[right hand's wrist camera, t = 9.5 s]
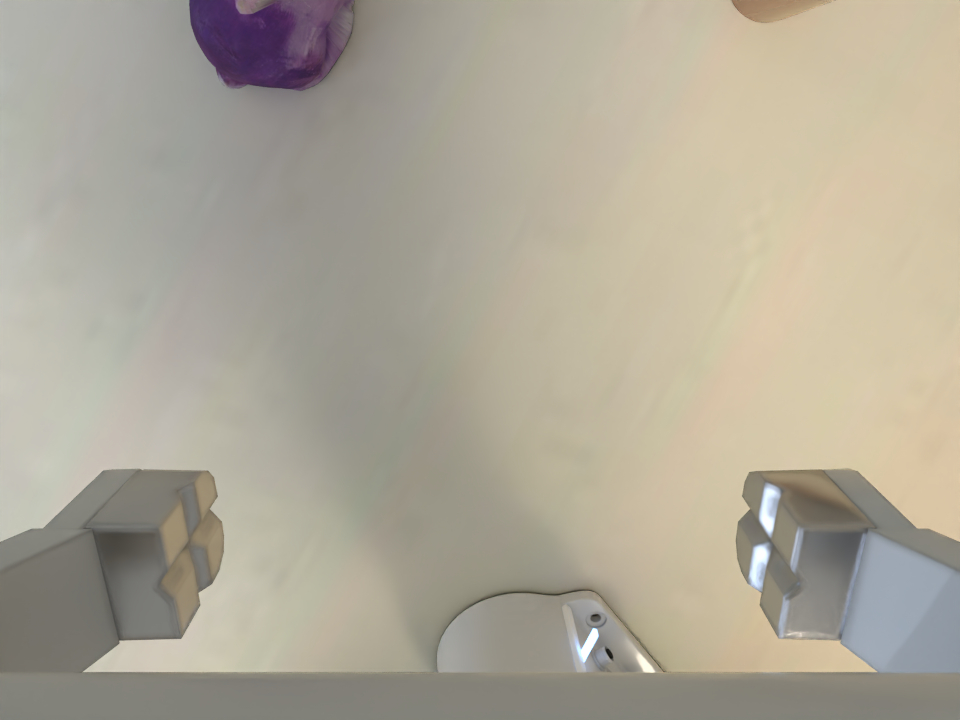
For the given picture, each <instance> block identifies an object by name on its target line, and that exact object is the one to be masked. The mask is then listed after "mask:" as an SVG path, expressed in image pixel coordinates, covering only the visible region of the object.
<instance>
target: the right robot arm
mask: <svg viewBox="0 0 960 720" xmlns="http://www.w3.org/2000/svg"><path fill="white" fill-rule="evenodd" d="M217 497H218V495H217V490H216V485H215V480H214V477H213V476H212V475H211V473H210V472H209V471H200V470H147V469H145V470H141V469H112V470H105V471H102V472H101V473H100V474H99V475H98V476H97V477H96V478H95V479H94V480H93V481H92V482H91V483H90V484H89V485H88V486H87V487H86V488H85V489H84V490H83V491H82V492H81V493H79V494H78V495H77V496H76V497H75V498H74V499H73V500H72V501H71V502H70V503H69V504H68V505H67V506H66V507H65V508H64V509H63V510H62V511H61V512H60V513H59V514H58V515H57V516H55V517H54V518H53V519H52V520H51V521H50V522H49V523H48V524H47V525H46V526H45V527H44V528H43V529H30V530H28V531H25V532H23V533H21V534H18V535H16V536H13V537H11V538H9V539H6V540H4V541H2V542H0V720H960V542H958V541H956V540H954V539H951V538H949V537H947V536H944V535H942V534H939V533H937V532H935V531H932V530H930V529H917V528H916V527H915V526H914V525H913V524H912V523H911V522H910V521H909V520H908V519H907V518H906V517H905V516H904V515H903V514H901V513H900V512H899V511H898V510H897V509H896V508H895V507H894V506H893V505H892V504H891V503H890V502H889V501H888V500H887V499H886V498H885V497H884V496H883V495H882V494H881V493H880V492H879V491H878V490H877V489H876V488H874V487H873V486H872V485H871V484H870V483H869V482H868V481H867V480H866V479H865V478H864V477H863V476H862V475H861V474H860V473H859V472H858V471H855V470H852V469H828V470H783V471H754V472H749V474H748V476H747V478H746V480H745V484H744V489H743V495H742V497H743V498H744V500H745V501H746V503H747V504H748V506H749V508H750V510H749V511H748V512H747V513H746V514H745V515H744V516H743V517H742V518H741V519H740V520H739V521H738V527H737V535H736V549H737V559H738V562H739V565H740V569H741V572H742V574H743V576H744V578H745V579H746V581H747V583H748V584H749V585H750V586H752V587H754V588H755V589H757V590H758V591H760V592H761V593H762V594H761V600H760V607H761V608H762V610H763V612H764V614H765V615H766V617H767V619H768V621H769V622H770V624H771V626H772V628H773V629H774V631H775V633H776V635H777V636H778V638H779V639H807V640H841V642H840V643H841V644H842V645H843V646H845V647H846V648H847V649H849V650H850V651H851V652H853V653H854V654H855V655H856V656H858V657H859V658H860V659H862V660H863V661H864V662H866V663H867V664H868V665H870V666H871V667H872V668H873V669H875V670H876V671H877V672H663V671H662V669H661V668H660V667H659V666H658V665H657V663H656V662H655V661H654V660H653V659H652V658H651V656H650V655H649V654H648V653H647V652H646V650H645V649H644V648H643V647H642V646H641V644H640V643H639V642H638V641H637V640H636V639H635V637H634V636H633V635H632V634H631V633H630V631H629V630H628V629H627V628H626V627H625V625H624V624H623V623H622V622H621V621H620V620H619V618H618V617H617V616H616V615H615V614H614V612H613V611H612V610H611V609H610V608H609V606H608V605H607V604H606V603H605V602H604V601H603V599H602V598H601V597H600V596H599V595H598V594H597V593H595V592H593V591H577V592H571V593H567V594H562V595H556V596H552V595H542V594H534V593H511V594H504V595H499V596H495V597H491V598H488V599H485V600H483V601H480V602H478V603H476V604H474V605H472V606H471V607H469V608H468V609H466V610H465V611H463V612H462V613H461V614H460V615H458V616H457V617H456V618H455V619H454V620H453V621H452V622H451V624H450V625H449V626H448V627H447V629H446V630H445V632H444V634H443V636H442V638H441V640H440V643H439V646H438V651H437V669H438V672H83V671H84V670H85V669H87V668H88V667H89V666H91V665H92V664H93V663H95V662H96V661H97V660H99V659H100V658H101V657H102V656H104V655H105V654H106V653H108V652H109V651H110V650H112V649H113V648H114V647H116V646H117V645H118V644H119V643H120V642H119V640H152V639H181V638H182V637H183V635H184V633H185V631H186V629H187V628H188V626H189V624H190V622H191V621H192V619H193V617H194V615H195V614H196V612H197V610H198V608H199V607H200V600H199V594H198V593H199V592H200V591H202V590H203V589H205V588H206V587H208V586H210V585H211V584H212V583H213V581H214V579H215V577H216V576H217V574H218V572H219V570H220V565H221V561H222V557H223V552H224V533H223V526H222V521H221V520H220V519H219V518H218V517H217V516H216V515H215V514H214V513H213V512H212V511H211V510H210V508H211V506H212V505H213V503H214V501H215V500H216V498H217ZM593 614H599V615H597V616H592V615H593Z"/></svg>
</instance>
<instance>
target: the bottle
mask: <svg viewBox="0 0 960 720" xmlns="http://www.w3.org/2000/svg"><path fill="white" fill-rule="evenodd" d="M833 1H836V0H732V2H733V4H734V5H735V7H736V8H737V9H738V10H739V11H740V13H742V14H743V15H744V16H746V17H747V18H749V19H751V20H754V21H757V22H764V23H769V22H776V21H779V20H782V19H785V18H788V17H791V16H793V15H796V14H799V13H802V12H805V11H807V10H810V9H813V8H816V7H819V6H822V5H824V4H827V3H830V2H833Z"/></svg>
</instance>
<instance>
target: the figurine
mask: <svg viewBox="0 0 960 720" xmlns="http://www.w3.org/2000/svg"><path fill="white" fill-rule="evenodd" d="M353 4H354V0H190V3H189V6H190V19H191V26H192V29H193V32H194V35H195V37H196V40H197V42H198V44H199V46H200V48H201V49H202V51H203V53H204V54H205V56H206V57H207V59H208V60H209V61H210V62H211V63H212V65H213V66H215V67H216V71H217V75H218V78H219V80H220V81H221V83H222V84H223V85H224V86H226V87H228V88H232V89H239V88H241V87H243V86H245V85H248V84H249V85H255V86H262V87H272V88H285V89H293V90H299V91H302V90H305V89H308V88H310V87H312V86H315V85H316V84H318V83H319V82H320V81H321V80H322V79H323V78H324V77H325V76H326V75H327V74H328V73H329V71H330V70H331V68H332V67H333V65H334V64H335V62H336V61H337V59H338V58H339V56H340V55H341V53H342V51H343V50H344V48H345V46H346V44H347V41H348V39H349V37H350V34H351V33H352V25H353V15H354V12H352V6H353Z"/></svg>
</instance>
